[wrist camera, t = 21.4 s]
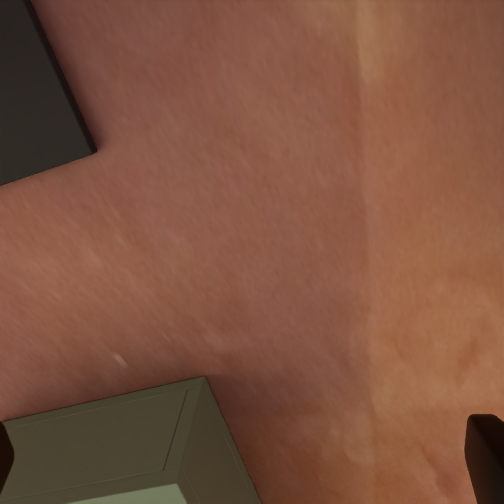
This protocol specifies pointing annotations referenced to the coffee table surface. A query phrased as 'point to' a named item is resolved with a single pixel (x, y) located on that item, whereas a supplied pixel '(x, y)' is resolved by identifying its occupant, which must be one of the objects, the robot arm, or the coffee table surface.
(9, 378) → the coffee table surface
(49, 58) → the mat
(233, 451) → the cabinet
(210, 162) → the coffee table surface
